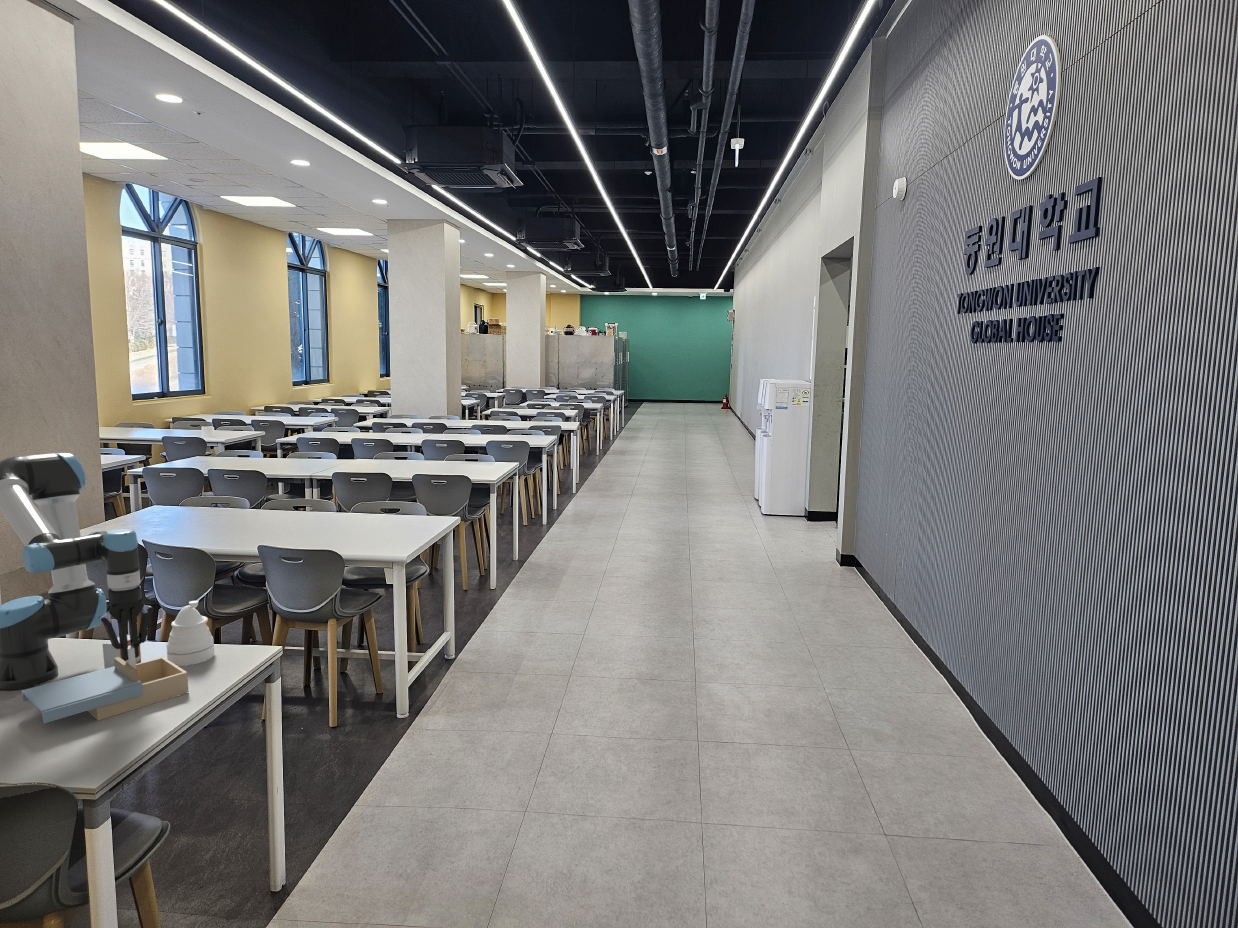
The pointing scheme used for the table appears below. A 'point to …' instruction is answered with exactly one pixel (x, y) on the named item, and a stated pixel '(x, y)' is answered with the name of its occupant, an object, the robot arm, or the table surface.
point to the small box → (115, 653)
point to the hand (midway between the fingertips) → (131, 669)
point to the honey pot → (190, 638)
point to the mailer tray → (149, 687)
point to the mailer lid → (85, 691)
